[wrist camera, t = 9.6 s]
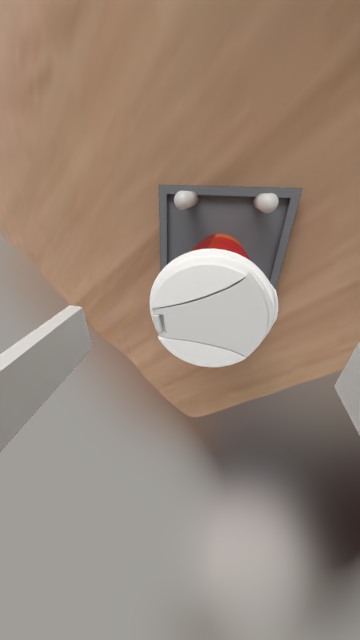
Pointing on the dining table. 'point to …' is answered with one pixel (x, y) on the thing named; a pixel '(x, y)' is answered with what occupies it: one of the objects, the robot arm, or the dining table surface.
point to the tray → (228, 221)
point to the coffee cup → (213, 304)
